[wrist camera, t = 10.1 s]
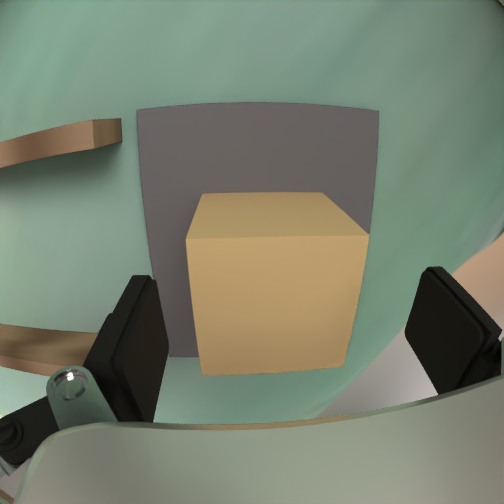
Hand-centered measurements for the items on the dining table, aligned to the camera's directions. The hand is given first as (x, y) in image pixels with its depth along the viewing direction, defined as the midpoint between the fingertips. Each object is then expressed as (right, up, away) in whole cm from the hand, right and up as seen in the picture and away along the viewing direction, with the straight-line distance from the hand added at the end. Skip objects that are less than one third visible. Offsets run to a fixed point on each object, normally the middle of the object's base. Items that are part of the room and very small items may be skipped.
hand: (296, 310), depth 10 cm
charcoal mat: (-1, +2, +7) cm, 7 cm away
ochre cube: (-1, +2, +6) cm, 7 cm away
